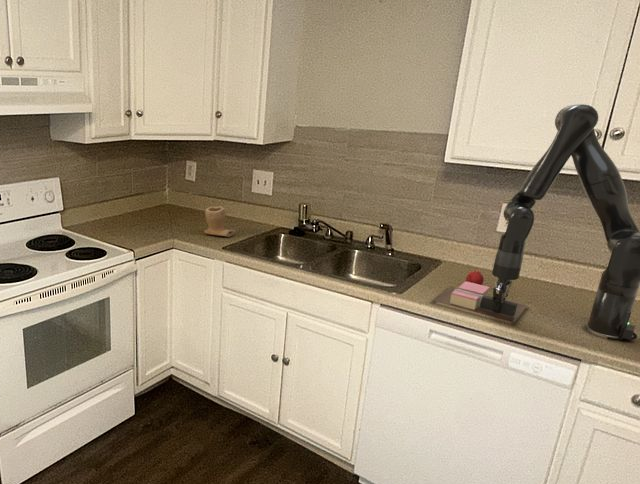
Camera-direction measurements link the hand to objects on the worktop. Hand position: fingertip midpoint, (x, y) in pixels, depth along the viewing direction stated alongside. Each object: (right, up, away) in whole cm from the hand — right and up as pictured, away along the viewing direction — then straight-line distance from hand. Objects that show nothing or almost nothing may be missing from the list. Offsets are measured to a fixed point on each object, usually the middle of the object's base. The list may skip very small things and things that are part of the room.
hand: (497, 310), depth 177 cm
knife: (-3, +1, +3) cm, 4 cm away
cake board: (-1, +1, +8) cm, 8 cm away
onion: (+6, +5, +24) cm, 26 cm away
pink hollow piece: (-85, +28, +92) cm, 128 cm away
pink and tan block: (-8, +1, +6) cm, 10 cm away
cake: (-1, +3, +13) cm, 13 cm away
